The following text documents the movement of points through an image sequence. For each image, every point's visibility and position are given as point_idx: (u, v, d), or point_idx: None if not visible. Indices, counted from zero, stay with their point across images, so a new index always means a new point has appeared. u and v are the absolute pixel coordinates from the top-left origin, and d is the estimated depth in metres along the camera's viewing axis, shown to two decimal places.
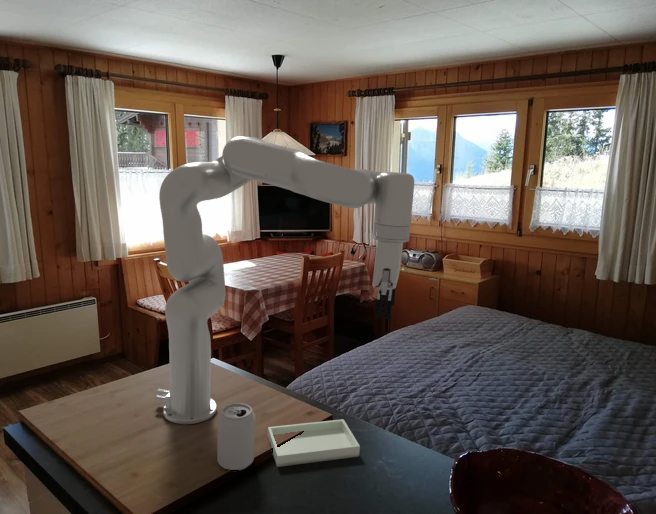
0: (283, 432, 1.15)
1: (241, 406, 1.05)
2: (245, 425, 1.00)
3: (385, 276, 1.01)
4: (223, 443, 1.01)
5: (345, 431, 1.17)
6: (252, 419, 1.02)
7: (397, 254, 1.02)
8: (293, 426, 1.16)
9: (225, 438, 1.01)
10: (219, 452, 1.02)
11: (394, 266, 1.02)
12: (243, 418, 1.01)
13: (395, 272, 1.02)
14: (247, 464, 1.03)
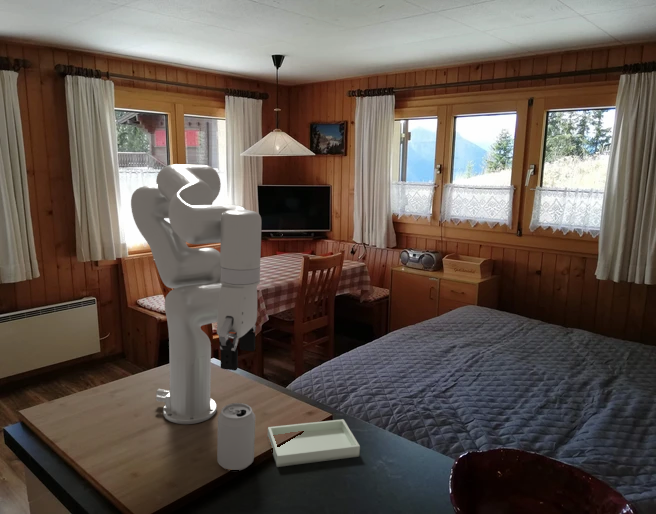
0: (283, 432, 1.15)
1: (241, 406, 1.05)
2: (245, 425, 1.00)
3: (225, 325, 0.92)
4: (223, 443, 1.01)
5: (345, 431, 1.17)
6: (252, 419, 1.02)
7: (240, 300, 0.93)
8: (293, 426, 1.16)
9: (225, 438, 1.01)
10: (219, 452, 1.02)
11: (237, 314, 0.93)
12: (243, 418, 1.01)
13: (239, 320, 0.93)
14: (247, 464, 1.03)
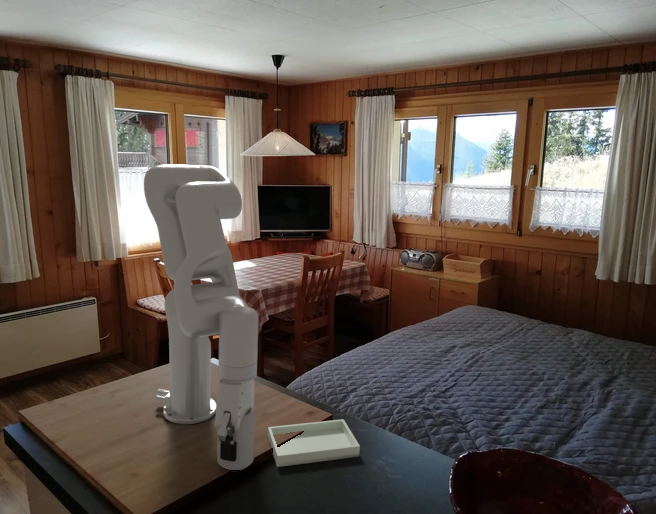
0: (283, 432, 1.15)
1: None
2: (245, 425, 1.00)
3: (224, 423, 0.96)
4: None
5: (345, 431, 1.17)
6: (252, 419, 1.02)
7: (238, 396, 0.97)
8: (293, 426, 1.16)
9: None
10: (219, 452, 1.02)
11: (235, 409, 0.97)
12: None
13: (236, 415, 0.98)
14: (247, 464, 1.03)
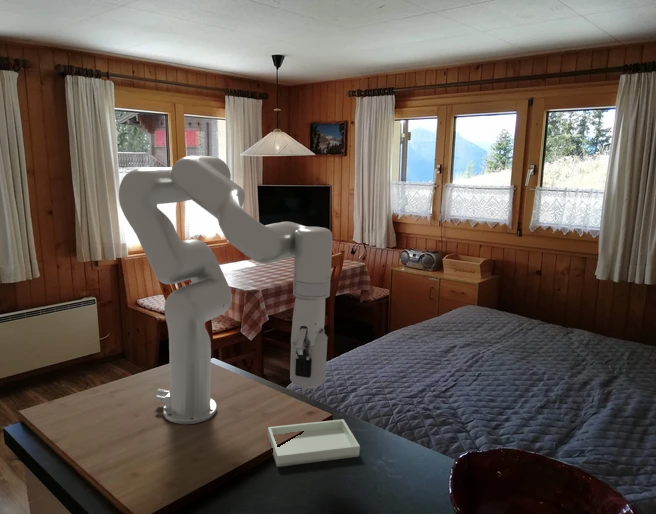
0: (283, 432, 1.15)
1: None
2: (319, 342, 1.03)
3: (301, 337, 0.99)
4: None
5: (345, 431, 1.17)
6: (325, 338, 1.05)
7: (314, 312, 1.00)
8: (293, 426, 1.16)
9: None
10: (293, 370, 1.05)
11: (311, 324, 1.00)
12: None
13: (312, 330, 1.00)
14: (320, 382, 1.05)
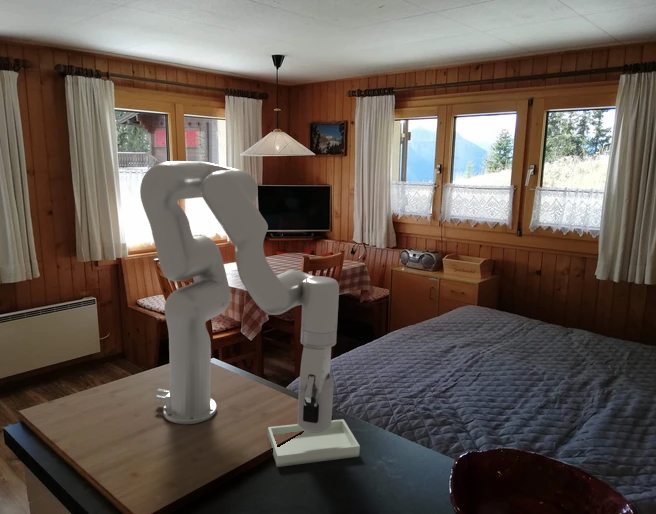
0: (283, 432, 1.15)
1: None
2: (326, 388, 1.06)
3: (309, 385, 1.02)
4: None
5: (345, 431, 1.17)
6: (332, 384, 1.08)
7: (322, 360, 1.03)
8: (293, 426, 1.16)
9: None
10: (301, 415, 1.08)
11: (319, 372, 1.03)
12: None
13: (320, 378, 1.04)
14: (327, 426, 1.09)
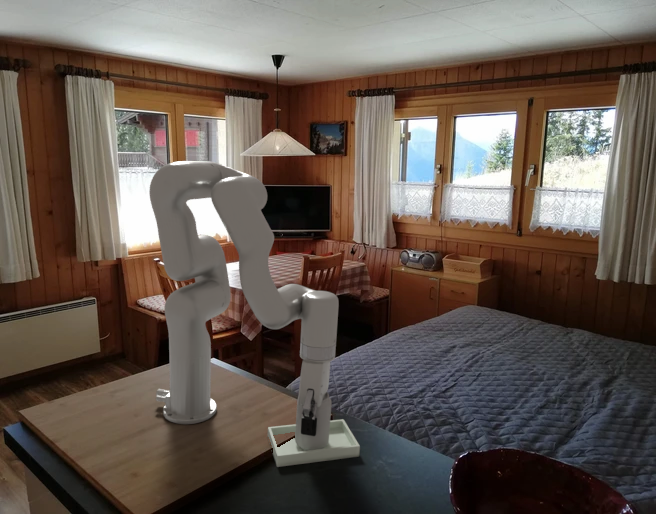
0: (283, 432, 1.15)
1: None
2: (324, 408, 1.07)
3: (308, 398, 1.03)
4: None
5: (345, 431, 1.17)
6: (330, 403, 1.09)
7: (321, 375, 1.04)
8: (293, 426, 1.16)
9: None
10: (299, 433, 1.09)
11: (318, 387, 1.04)
12: (322, 402, 1.08)
13: (319, 392, 1.04)
14: (324, 445, 1.10)
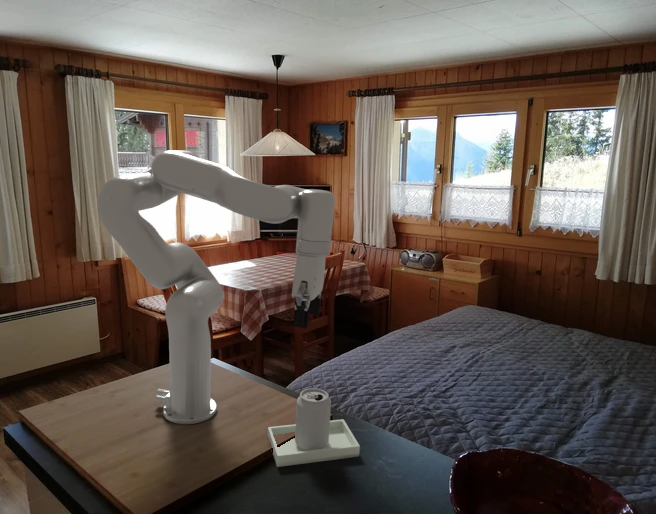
0: (283, 432, 1.15)
1: (317, 391, 1.12)
2: (323, 408, 1.07)
3: (301, 288, 1.07)
4: (302, 425, 1.08)
5: (345, 431, 1.17)
6: (329, 403, 1.09)
7: (314, 268, 1.08)
8: (293, 426, 1.16)
9: (305, 421, 1.08)
10: (298, 434, 1.09)
11: (311, 279, 1.08)
12: (322, 402, 1.08)
13: (312, 285, 1.08)
14: (324, 445, 1.10)
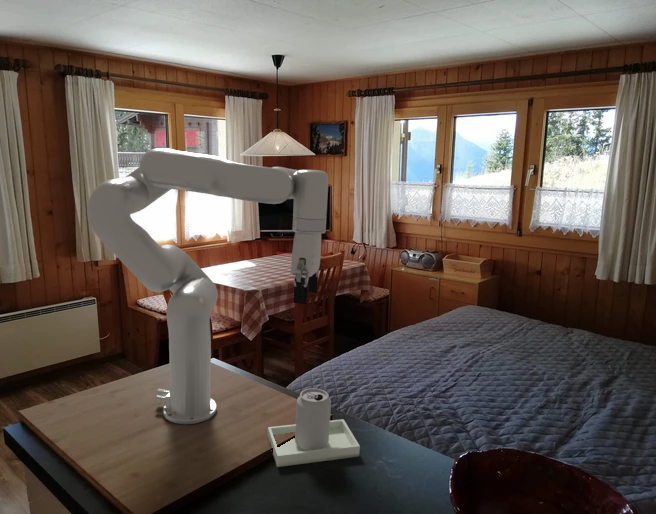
0: (283, 432, 1.15)
1: (317, 391, 1.12)
2: (323, 408, 1.07)
3: (300, 265, 1.10)
4: (302, 425, 1.08)
5: (345, 431, 1.17)
6: (329, 403, 1.09)
7: (312, 245, 1.11)
8: (293, 426, 1.16)
9: (305, 421, 1.08)
10: (298, 434, 1.09)
11: (309, 256, 1.12)
12: (322, 402, 1.08)
13: (310, 261, 1.12)
14: (324, 445, 1.10)
